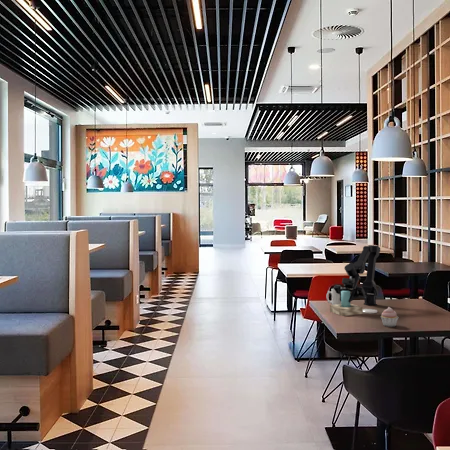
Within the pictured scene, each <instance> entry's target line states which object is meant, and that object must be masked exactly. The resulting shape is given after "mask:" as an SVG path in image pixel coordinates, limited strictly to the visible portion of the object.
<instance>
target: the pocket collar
mask: <svg viewBox="0 0 450 450" xmlns="http://www.w3.org/2000/svg"><path fill="white" fill-rule="evenodd" d="M350 304H351V307H345V308H343V307H341V304H337V305H332V304H330V305H329V312H330V313H333V314H336V315H339V316H341V317H344V316H353V315H354V316H355V315H363V314H364V313H363V309H364V308H363V306H360V305H356V304H353V303H350Z"/></svg>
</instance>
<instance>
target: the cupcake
mask: <svg viewBox="0 0 450 450" xmlns="http://www.w3.org/2000/svg"><path fill="white" fill-rule="evenodd" d="M380 319H381V321H382V324H383V326H384V327H389V328H394V327H396V326H397V322H398V320H399V316H398V315H397V312H396V311H395V310H393V308H391V307H390V306H388V307H387V308H386V309H384V310H383V312H382V313H381V315H380Z"/></svg>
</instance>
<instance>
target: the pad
mask: <svg viewBox="0 0 450 450" xmlns="http://www.w3.org/2000/svg"><path fill="white" fill-rule="evenodd" d="M377 313H378V309H374V308H363V314H377Z"/></svg>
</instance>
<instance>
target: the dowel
mask: <svg viewBox="0 0 450 450" xmlns="http://www.w3.org/2000/svg"><path fill="white" fill-rule="evenodd" d="M350 296H351V292H350V291H341V307H343V308H345V307H351V304H352V303H351V302H349V298H350Z"/></svg>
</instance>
